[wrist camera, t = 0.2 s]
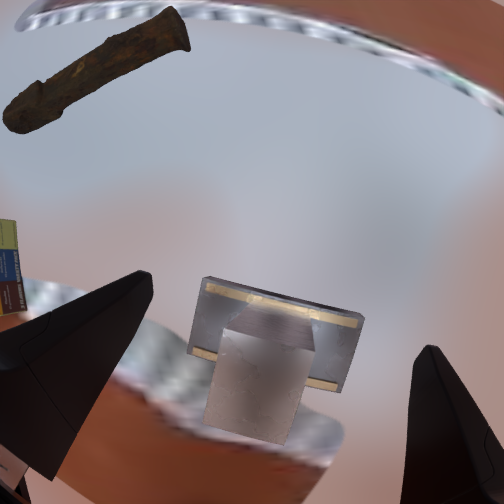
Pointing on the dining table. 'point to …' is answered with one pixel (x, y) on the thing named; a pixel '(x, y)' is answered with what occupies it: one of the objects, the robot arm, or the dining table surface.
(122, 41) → the dark brown rod
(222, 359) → the pale upright block
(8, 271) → the protein box
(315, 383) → the grey gold-striped flat block
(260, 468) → the dining table surface
